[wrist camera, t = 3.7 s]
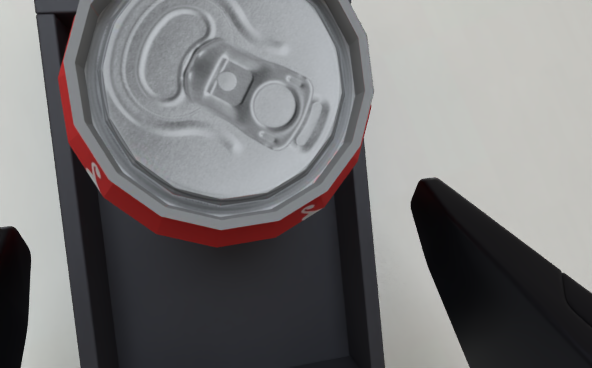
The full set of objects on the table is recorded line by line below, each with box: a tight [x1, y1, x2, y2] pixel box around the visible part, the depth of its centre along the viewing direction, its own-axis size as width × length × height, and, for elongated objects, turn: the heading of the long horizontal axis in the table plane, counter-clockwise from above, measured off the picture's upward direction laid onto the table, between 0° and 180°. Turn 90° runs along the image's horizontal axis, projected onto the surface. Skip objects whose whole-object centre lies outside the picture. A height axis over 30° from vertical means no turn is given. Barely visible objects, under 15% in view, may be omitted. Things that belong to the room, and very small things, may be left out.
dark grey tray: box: [34, 0, 385, 368], centre depth 18 cm, size 16×11×3 cm
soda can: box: [58, 0, 374, 247], centre depth 13 cm, size 6×6×12 cm
